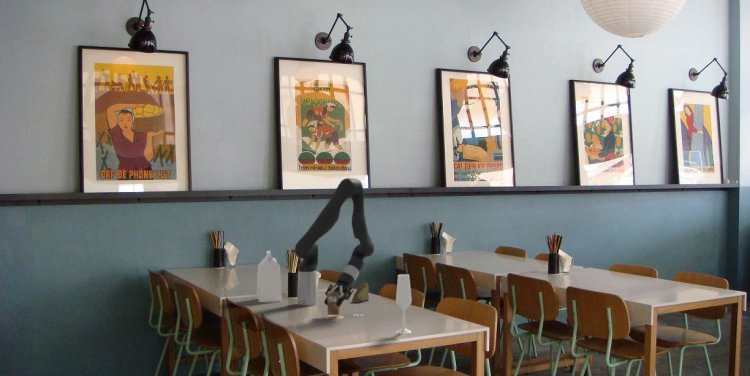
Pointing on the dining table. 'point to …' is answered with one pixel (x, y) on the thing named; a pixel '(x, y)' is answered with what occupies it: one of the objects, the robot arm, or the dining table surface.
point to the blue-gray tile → (358, 315)
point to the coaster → (333, 317)
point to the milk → (269, 280)
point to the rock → (361, 293)
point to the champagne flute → (403, 298)
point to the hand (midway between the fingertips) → (331, 304)
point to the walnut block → (333, 302)
